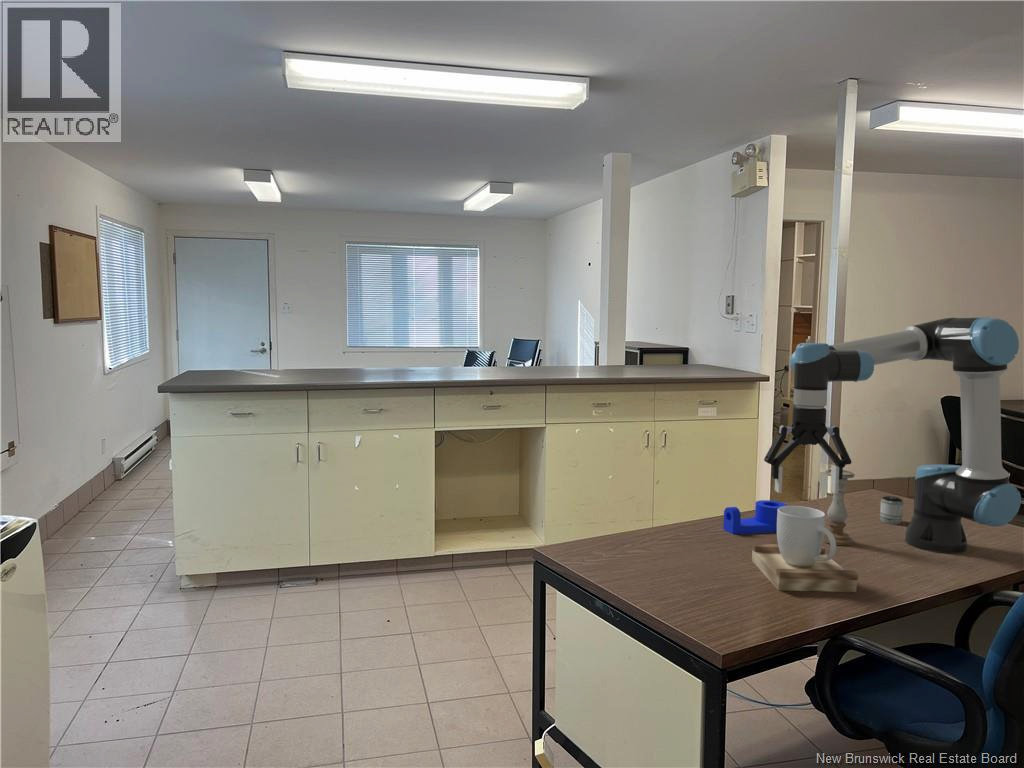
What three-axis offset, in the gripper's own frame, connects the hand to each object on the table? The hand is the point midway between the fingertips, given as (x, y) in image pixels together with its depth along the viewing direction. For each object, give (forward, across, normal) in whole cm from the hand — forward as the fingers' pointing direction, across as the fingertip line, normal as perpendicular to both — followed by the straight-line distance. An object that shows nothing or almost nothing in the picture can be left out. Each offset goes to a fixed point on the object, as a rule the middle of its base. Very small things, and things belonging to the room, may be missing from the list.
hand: (806, 492), depth 170 cm
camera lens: (+22, -46, -49) cm, 71 cm away
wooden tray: (+21, 0, 0) cm, 21 cm away
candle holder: (+22, -20, -28) cm, 41 cm away
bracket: (+22, 0, -38) cm, 44 cm away
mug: (+18, 0, 0) cm, 18 cm away
